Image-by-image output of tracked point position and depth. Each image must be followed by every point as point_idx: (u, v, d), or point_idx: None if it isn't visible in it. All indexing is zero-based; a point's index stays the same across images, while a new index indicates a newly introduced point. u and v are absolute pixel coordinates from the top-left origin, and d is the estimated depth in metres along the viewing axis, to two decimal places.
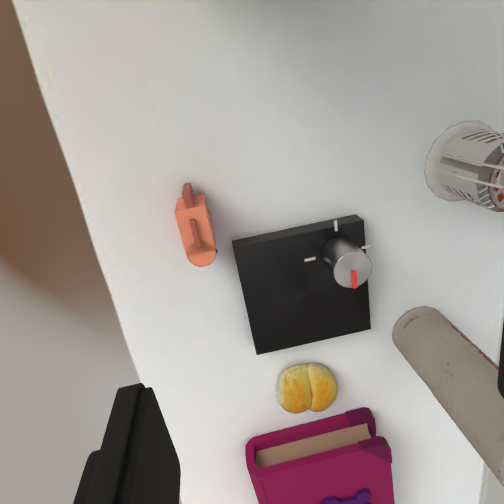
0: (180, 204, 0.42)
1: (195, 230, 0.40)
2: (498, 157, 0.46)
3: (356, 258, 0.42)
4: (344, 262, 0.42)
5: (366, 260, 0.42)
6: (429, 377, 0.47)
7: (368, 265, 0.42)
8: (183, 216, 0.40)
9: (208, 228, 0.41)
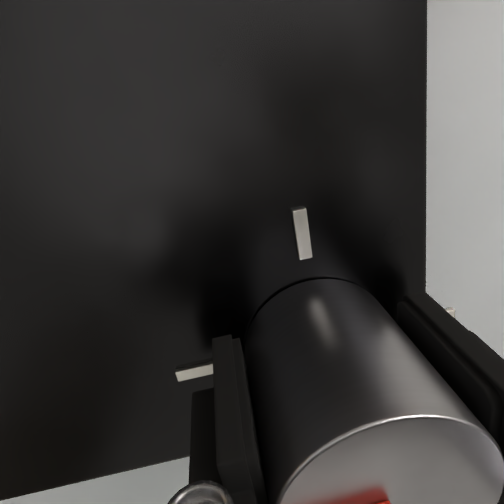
0: None
1: None
2: None
3: None
4: (456, 459, 0.07)
5: None
6: None
7: None
8: None
9: None
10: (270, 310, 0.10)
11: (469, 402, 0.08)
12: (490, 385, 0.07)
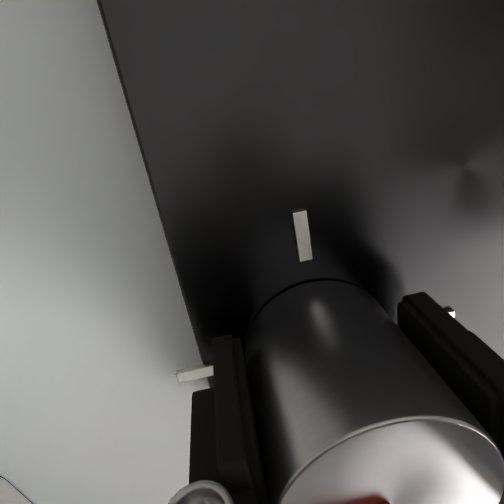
0: None
1: None
2: None
3: None
4: (456, 461, 0.07)
5: None
6: None
7: None
8: None
9: None
10: (270, 312, 0.10)
11: (469, 402, 0.08)
12: (490, 385, 0.07)
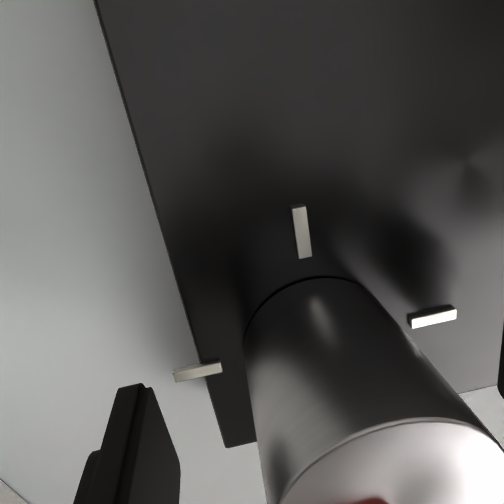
0: None
1: None
2: None
3: None
4: (458, 463, 0.06)
5: None
6: None
7: None
8: None
9: None
10: (267, 311, 0.10)
11: None
12: None
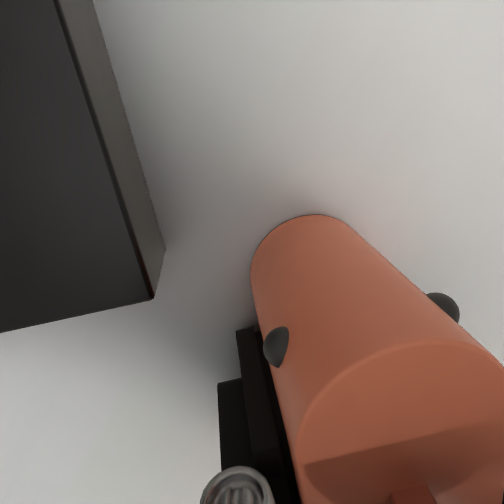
0: None
1: None
2: None
3: None
4: None
5: None
6: None
7: None
8: None
9: None
10: None
11: None
12: None
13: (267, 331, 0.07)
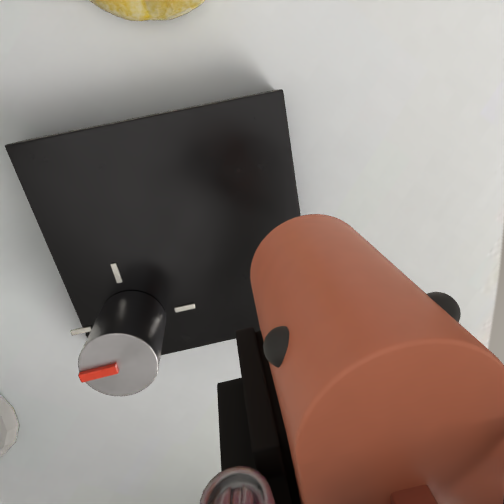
0: None
1: None
2: None
3: (144, 367, 0.22)
4: (134, 348, 0.21)
5: (142, 383, 0.22)
6: None
7: (132, 389, 0.22)
8: None
9: None
10: (104, 304, 0.25)
11: None
12: None
13: (267, 331, 0.07)
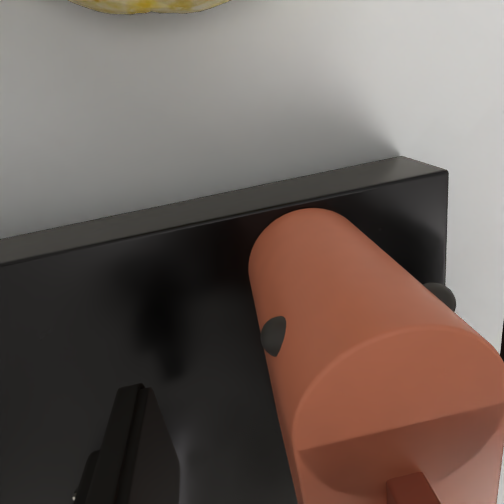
0: None
1: None
2: None
3: None
4: None
5: None
6: None
7: None
8: None
9: None
10: None
11: None
12: None
13: (265, 322, 0.07)
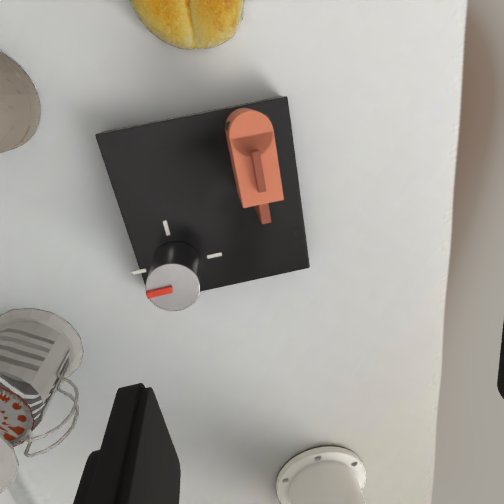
0: None
1: (258, 177, 0.28)
2: None
3: (190, 289, 0.31)
4: (184, 275, 0.31)
5: (188, 301, 0.32)
6: None
7: (181, 305, 0.32)
8: (272, 193, 0.29)
9: (239, 175, 0.28)
10: (157, 251, 0.35)
11: None
12: None
13: None
